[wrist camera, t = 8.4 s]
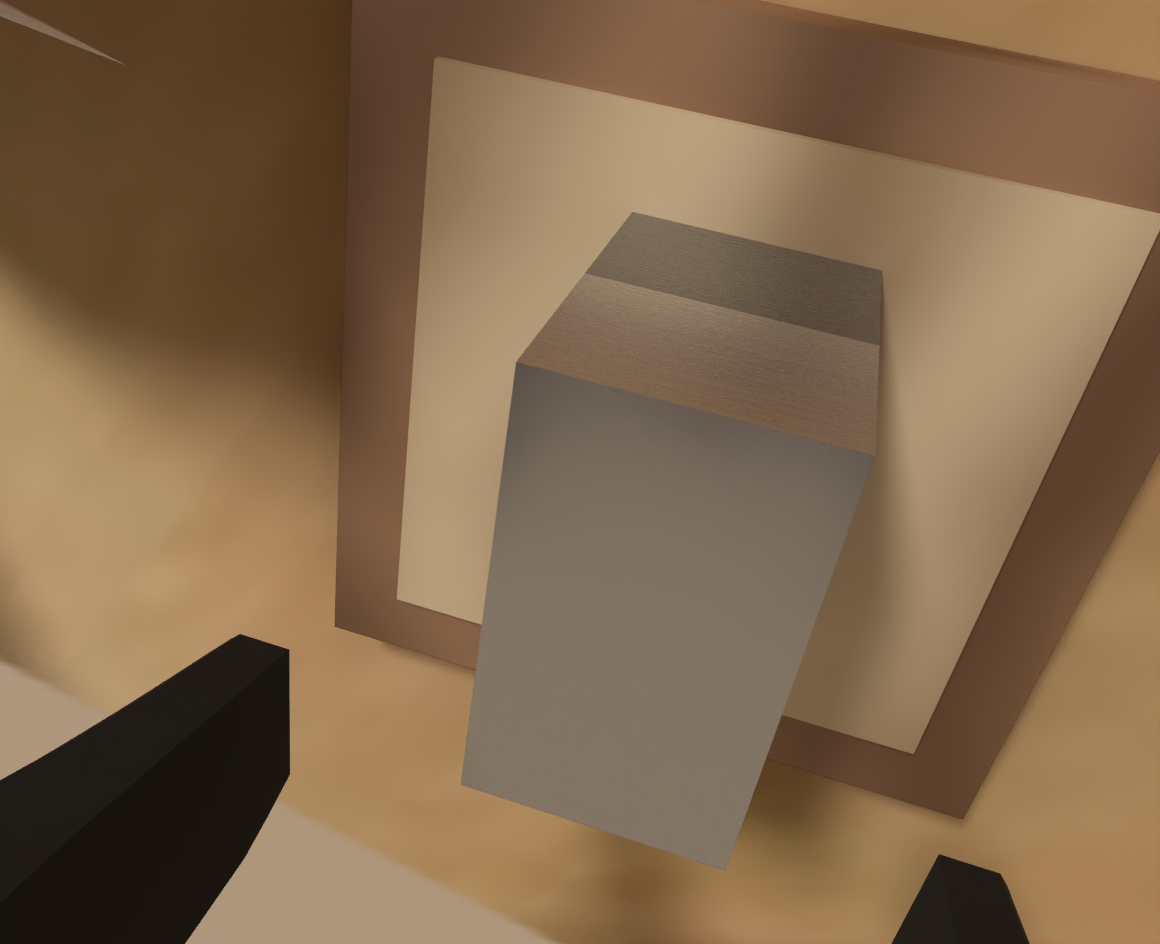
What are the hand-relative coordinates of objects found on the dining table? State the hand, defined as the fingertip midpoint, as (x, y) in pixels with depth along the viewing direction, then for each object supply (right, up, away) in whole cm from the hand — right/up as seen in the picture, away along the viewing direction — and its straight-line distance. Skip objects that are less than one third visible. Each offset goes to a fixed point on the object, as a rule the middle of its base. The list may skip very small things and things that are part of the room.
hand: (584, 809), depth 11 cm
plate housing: (+2, +4, +7) cm, 8 cm away
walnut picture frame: (+3, +5, +8) cm, 10 cm away
